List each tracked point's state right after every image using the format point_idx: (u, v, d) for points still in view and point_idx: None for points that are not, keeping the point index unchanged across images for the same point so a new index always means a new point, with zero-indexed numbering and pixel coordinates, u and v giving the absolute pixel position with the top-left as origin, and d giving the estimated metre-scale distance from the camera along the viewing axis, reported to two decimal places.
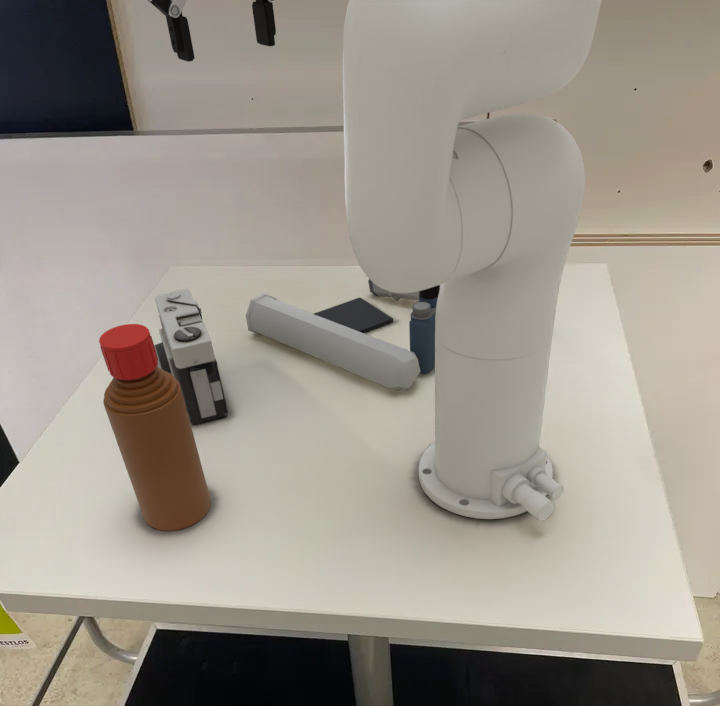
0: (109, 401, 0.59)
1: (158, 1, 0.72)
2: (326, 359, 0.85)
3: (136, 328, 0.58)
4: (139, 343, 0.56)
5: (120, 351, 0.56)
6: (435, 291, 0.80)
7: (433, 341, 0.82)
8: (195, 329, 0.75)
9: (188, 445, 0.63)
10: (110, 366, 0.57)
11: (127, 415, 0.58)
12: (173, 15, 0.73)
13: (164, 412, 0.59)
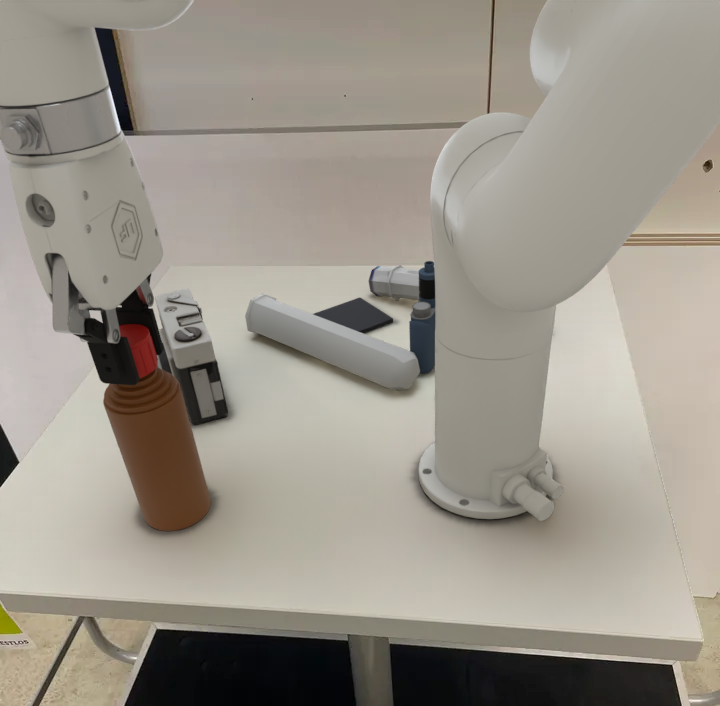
0: (109, 401, 0.59)
1: (97, 332, 0.52)
2: (326, 359, 0.85)
3: (136, 328, 0.58)
4: (139, 343, 0.56)
5: None
6: None
7: (433, 341, 0.82)
8: (195, 329, 0.75)
9: (188, 445, 0.63)
10: None
11: (127, 415, 0.58)
12: (114, 341, 0.53)
13: (163, 412, 0.59)
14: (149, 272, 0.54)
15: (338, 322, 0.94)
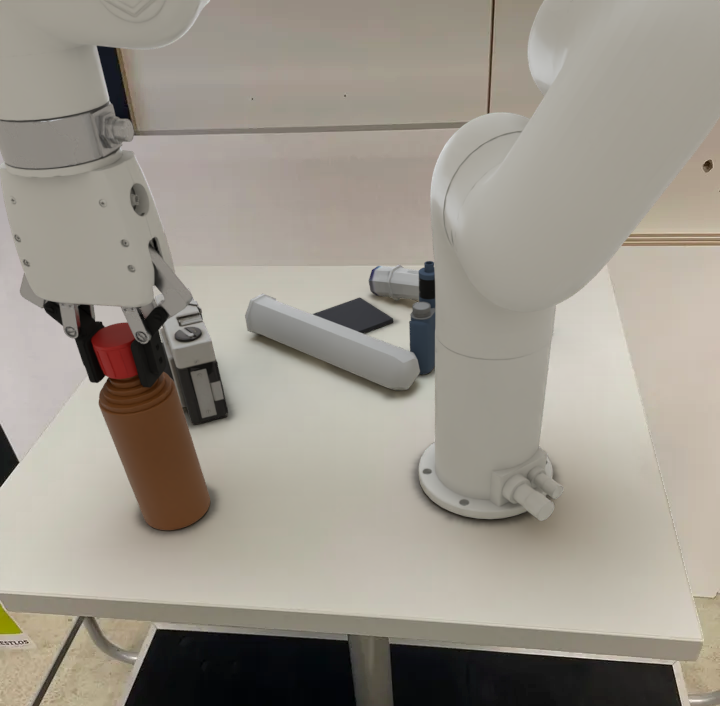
0: (104, 402, 0.59)
1: None
2: (326, 359, 0.85)
3: (105, 331, 0.57)
4: None
5: None
6: None
7: (433, 341, 0.82)
8: (195, 329, 0.75)
9: (185, 444, 0.63)
10: None
11: (121, 415, 0.58)
12: None
13: (158, 411, 0.59)
14: None
15: (338, 322, 0.94)
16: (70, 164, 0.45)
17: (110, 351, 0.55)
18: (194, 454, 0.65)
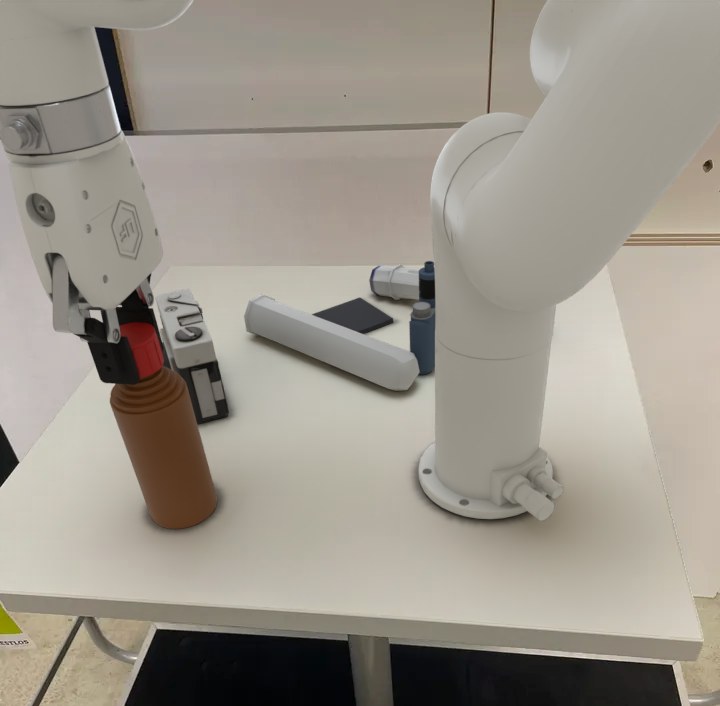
0: (116, 401, 0.59)
1: (97, 332, 0.52)
2: (325, 360, 0.85)
3: None
4: None
5: (155, 335, 0.57)
6: None
7: (433, 341, 0.82)
8: (196, 329, 0.75)
9: (195, 444, 0.63)
10: (151, 361, 0.57)
11: (133, 415, 0.58)
12: (115, 341, 0.53)
13: (170, 411, 0.59)
14: (149, 272, 0.54)
15: (338, 322, 0.94)
16: None
17: None
18: (203, 454, 0.65)
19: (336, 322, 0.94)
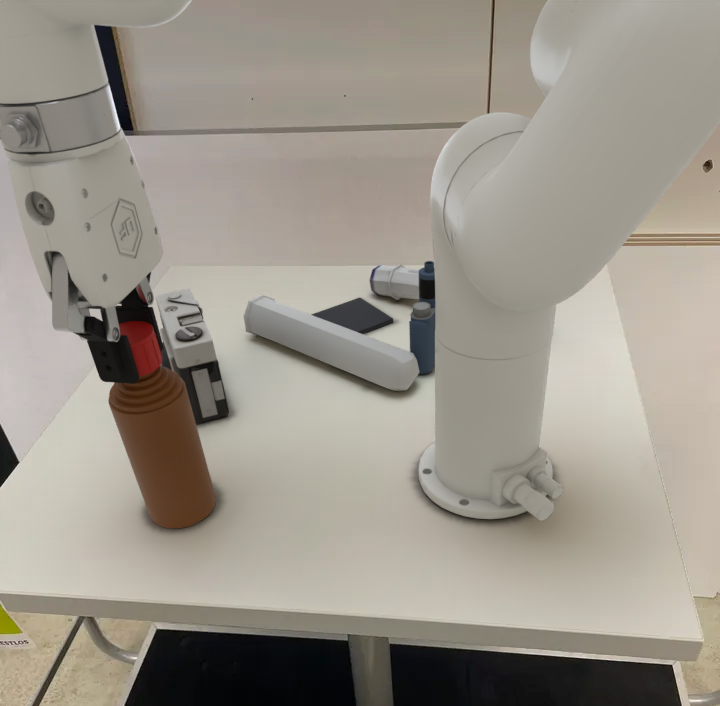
0: (115, 402, 0.59)
1: (96, 331, 0.52)
2: (325, 360, 0.85)
3: None
4: None
5: None
6: None
7: (433, 341, 0.82)
8: (196, 329, 0.75)
9: (195, 442, 0.63)
10: None
11: (135, 414, 0.58)
12: (114, 339, 0.53)
13: (171, 410, 0.59)
14: (149, 270, 0.54)
15: (338, 322, 0.94)
16: (3, 145, 0.46)
17: (153, 336, 0.57)
18: (202, 452, 0.65)
19: (336, 322, 0.94)
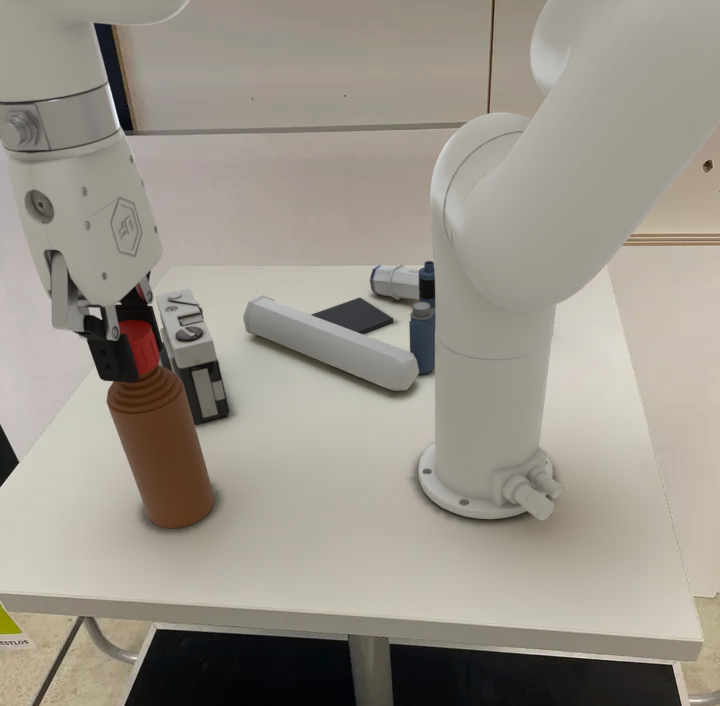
0: (115, 402, 0.58)
1: (96, 329, 0.52)
2: (324, 360, 0.85)
3: (137, 335, 0.56)
4: None
5: None
6: None
7: (433, 341, 0.82)
8: (196, 328, 0.75)
9: (194, 440, 0.63)
10: None
11: (136, 414, 0.58)
12: (114, 338, 0.53)
13: (171, 408, 0.59)
14: (148, 269, 0.54)
15: (338, 322, 0.94)
16: (2, 143, 0.46)
17: None
18: (200, 450, 0.65)
19: (336, 322, 0.94)
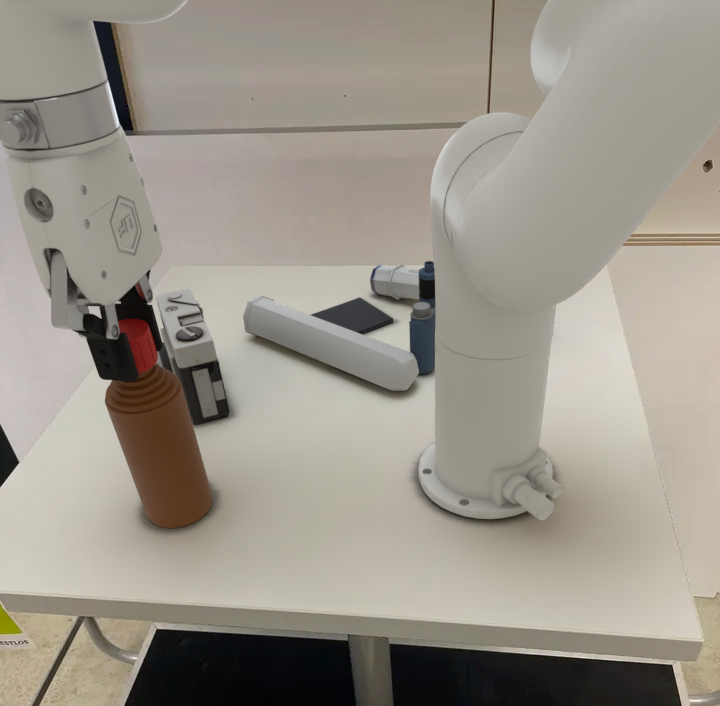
0: (115, 403, 0.58)
1: (95, 328, 0.52)
2: (324, 360, 0.85)
3: (136, 323, 0.57)
4: (138, 339, 0.56)
5: None
6: None
7: (433, 341, 0.82)
8: (196, 328, 0.75)
9: (193, 438, 0.63)
10: None
11: (137, 414, 0.58)
12: (113, 337, 0.53)
13: (172, 407, 0.59)
14: (148, 268, 0.54)
15: (338, 322, 0.94)
16: None
17: None
18: None
19: (336, 322, 0.94)
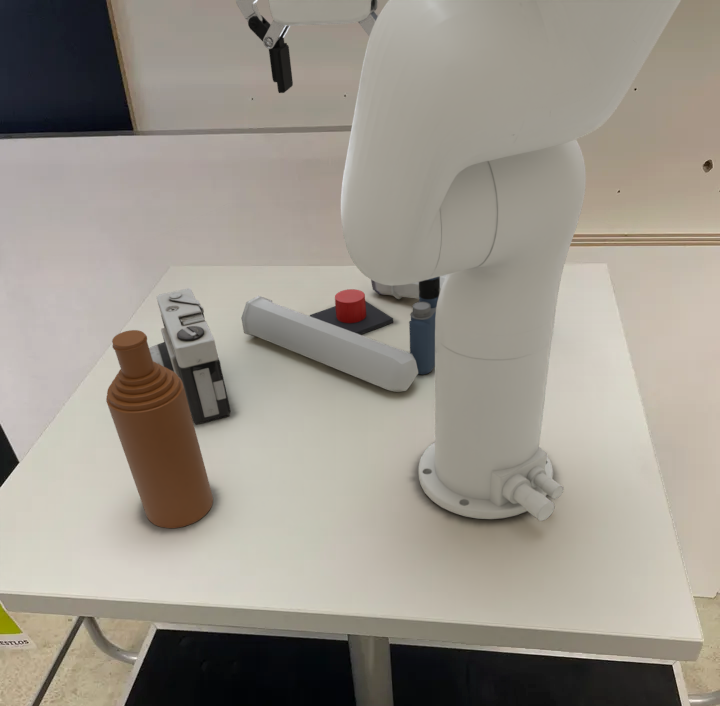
0: (116, 401, 0.59)
1: None
2: (323, 361, 0.85)
3: (341, 293, 0.94)
4: (359, 291, 0.94)
5: (364, 297, 0.93)
6: (435, 291, 0.80)
7: (433, 341, 0.82)
8: (197, 328, 0.75)
9: (194, 438, 0.63)
10: (362, 312, 0.93)
11: (138, 412, 0.58)
12: None
13: (173, 405, 0.59)
14: None
15: (338, 322, 0.94)
16: None
17: (348, 305, 0.92)
18: (199, 448, 0.65)
19: (336, 322, 0.94)
